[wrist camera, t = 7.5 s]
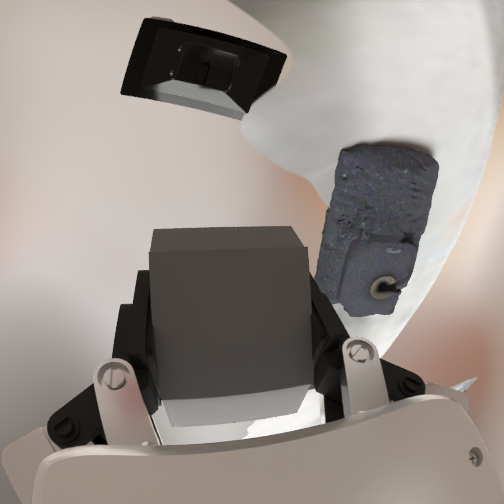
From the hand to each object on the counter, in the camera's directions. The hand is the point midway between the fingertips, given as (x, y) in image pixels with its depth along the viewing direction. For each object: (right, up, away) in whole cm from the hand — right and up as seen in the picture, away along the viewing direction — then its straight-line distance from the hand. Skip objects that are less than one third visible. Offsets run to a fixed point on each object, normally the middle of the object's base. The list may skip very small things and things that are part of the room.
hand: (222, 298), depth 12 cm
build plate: (-3, +17, +8) cm, 19 cm away
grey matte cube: (0, 0, 0) cm, 0 cm away
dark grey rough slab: (+16, +4, +21) cm, 27 cm away
